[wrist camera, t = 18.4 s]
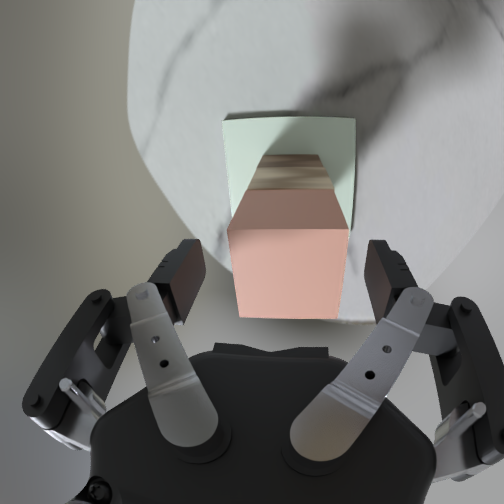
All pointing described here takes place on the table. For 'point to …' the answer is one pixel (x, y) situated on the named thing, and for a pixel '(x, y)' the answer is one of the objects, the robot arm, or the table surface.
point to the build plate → (291, 150)
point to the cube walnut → (290, 160)
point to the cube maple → (290, 178)
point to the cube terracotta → (288, 253)
